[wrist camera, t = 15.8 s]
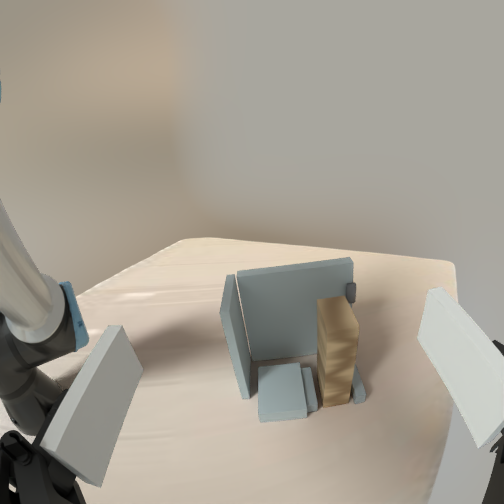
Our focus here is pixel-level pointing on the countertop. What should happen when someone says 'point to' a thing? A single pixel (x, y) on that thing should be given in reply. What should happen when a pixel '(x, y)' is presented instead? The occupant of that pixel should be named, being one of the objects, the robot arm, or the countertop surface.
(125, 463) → the countertop surface
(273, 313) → the cabinet
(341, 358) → the door panel
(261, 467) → the countertop surface
